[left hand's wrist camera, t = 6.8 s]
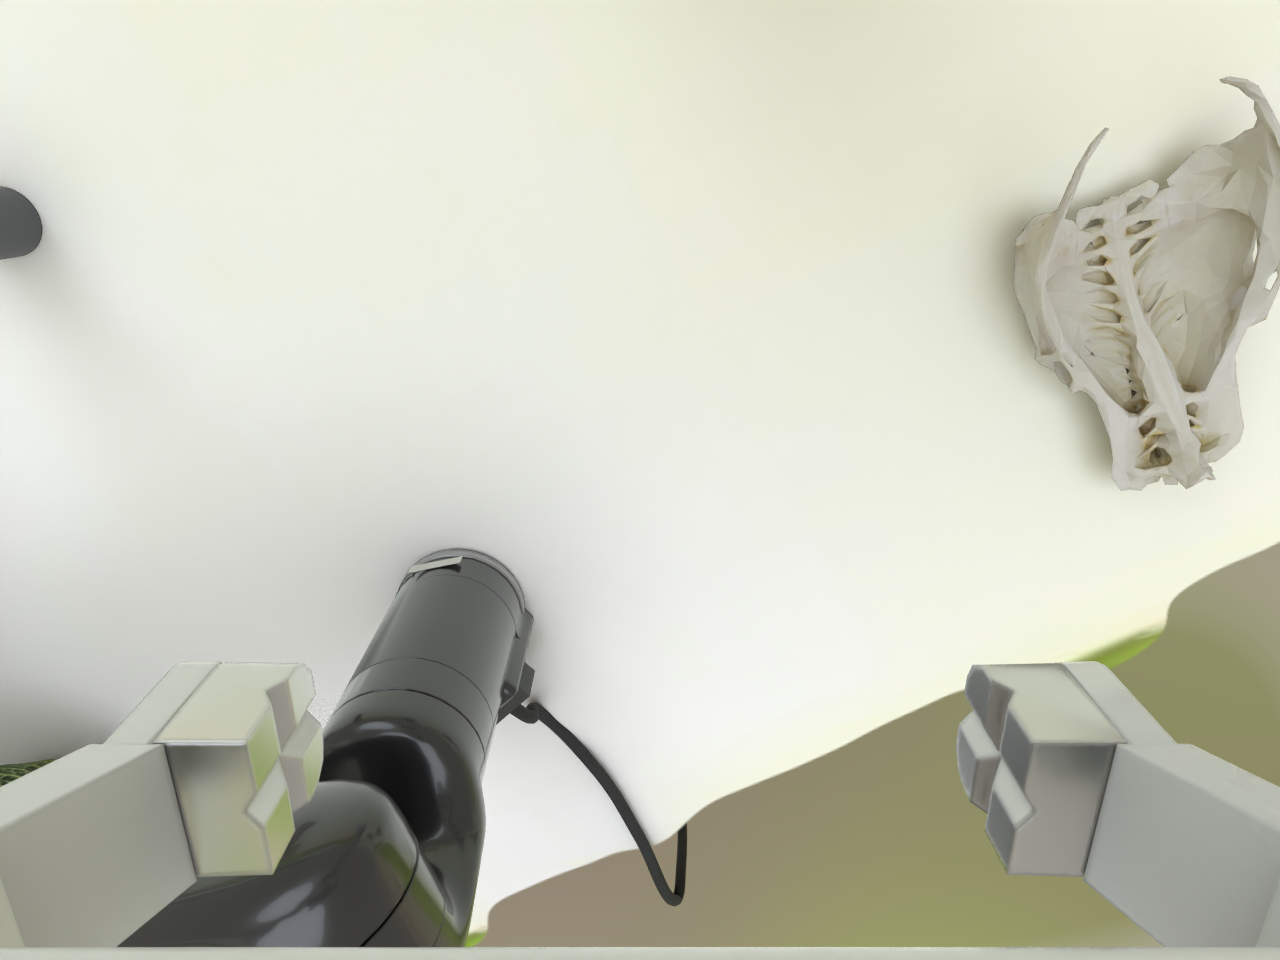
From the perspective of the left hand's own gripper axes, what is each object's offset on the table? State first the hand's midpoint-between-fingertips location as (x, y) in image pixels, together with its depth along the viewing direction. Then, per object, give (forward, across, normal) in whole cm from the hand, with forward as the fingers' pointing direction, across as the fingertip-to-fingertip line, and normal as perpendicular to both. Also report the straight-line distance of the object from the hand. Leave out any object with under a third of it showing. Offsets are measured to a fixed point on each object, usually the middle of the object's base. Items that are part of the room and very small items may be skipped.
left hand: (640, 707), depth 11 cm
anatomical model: (+48, -32, +3) cm, 57 cm away
